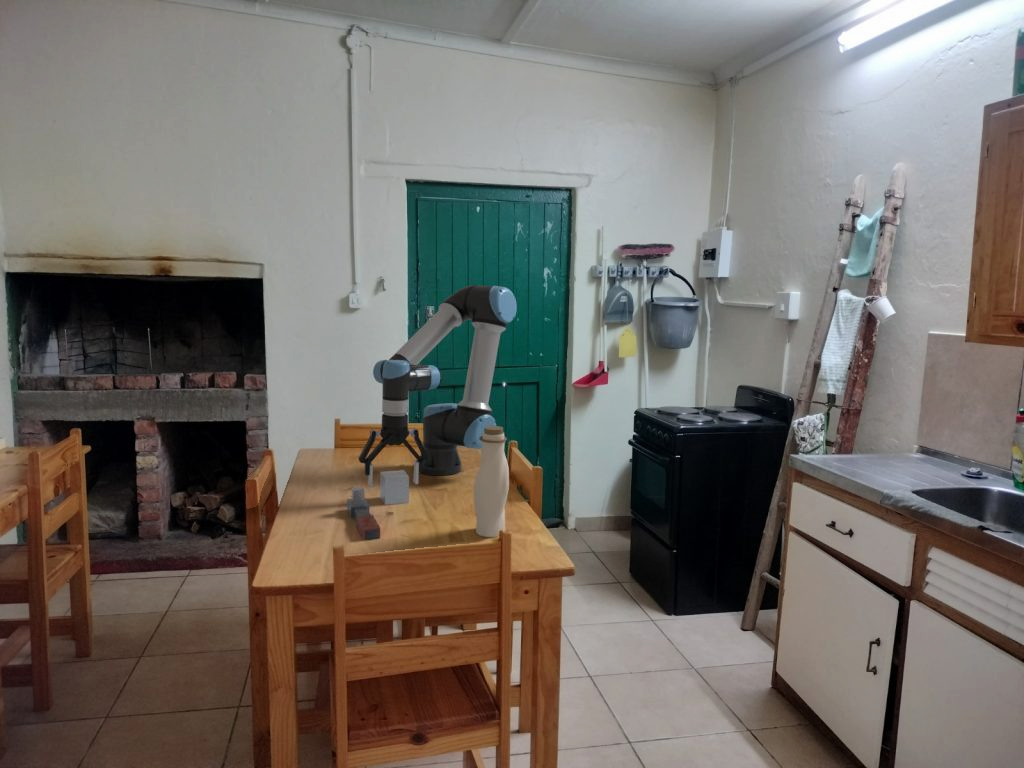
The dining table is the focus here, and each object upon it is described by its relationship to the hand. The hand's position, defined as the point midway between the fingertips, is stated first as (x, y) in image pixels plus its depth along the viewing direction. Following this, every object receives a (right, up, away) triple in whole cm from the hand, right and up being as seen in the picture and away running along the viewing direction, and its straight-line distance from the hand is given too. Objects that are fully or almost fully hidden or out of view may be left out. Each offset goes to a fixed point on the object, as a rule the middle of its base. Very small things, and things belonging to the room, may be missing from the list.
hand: (393, 484), depth 200 cm
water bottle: (+29, -9, -21) cm, 37 cm away
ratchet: (-5, -8, -19) cm, 21 cm away
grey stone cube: (0, -5, +1) cm, 5 cm away
